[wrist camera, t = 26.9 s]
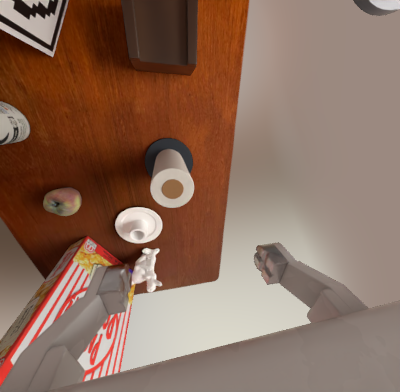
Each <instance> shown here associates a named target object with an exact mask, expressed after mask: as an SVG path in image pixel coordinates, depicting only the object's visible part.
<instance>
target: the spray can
mask: <svg viewBox="0 0 400 392" xmlns="http://www.w3.org/2000/svg"><path fill="white" fill-rule="evenodd" d="M29 134H30V125H29V122H28V120H27V119H26V117H25V116H24V115H23V114H22V113H21V112H20V111H19V110H18V109H16V108H15V107H13V106H11V105H9V104H7V103H3V102H0V145H3V144H9V143H15V142H20V141H22V140H24V139H26V138H27V137H28V136H29Z"/></svg>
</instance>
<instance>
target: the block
mask: <svg viewBox="0 0 400 392" xmlns="http://www.w3.org/2000/svg"><path fill="white" fill-rule="evenodd" d="M68 2H69V0H0V29H2V30H3V31H5V32H7V33H9V34H11V35H13V36H15V37H16V38H18V39H20V40H22V41H24V42H26V43H28V44H29V45H31V46H33V47H35V48H37V49H39V50H41V51H42V52H44V53H46V54H48V55H50V56H52V57H53V56H54V52H55V49H56V45H57V41H58V38H59V34H60V31H61V27H62V23H63V20H64V16H65V12H66V9H67V5H68Z"/></svg>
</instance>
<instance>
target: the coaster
mask: <svg viewBox="0 0 400 392" xmlns="http://www.w3.org/2000/svg"><path fill="white" fill-rule="evenodd" d="M165 149H173V150H175V151H177V152H178V153H179V154H180V155H181V156H182V158H183V160H184V163H185V165H186V167H187V169H188V171H189V174H190V172H191V170H192V166H193V159H192V155H191V153H190V151H189V149H188V148H187V147H186V145H184V144H183V143H182V142H180V141H178V140H176V139H172V138H164V139H160V140H158V141H156V142H154V143H153V144H152V145H151V146H150V147H149V149H148V150H147V153H146V156H145V166H146V169H147V172H148V173H149V175H150V176H151V177H152V175H153V170H154V165H155V160H156V157H157V155H158V154H159V153H160V152H161V151H163V150H165Z"/></svg>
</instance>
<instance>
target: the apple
mask: <svg viewBox="0 0 400 392" xmlns="http://www.w3.org/2000/svg"><path fill="white" fill-rule="evenodd" d="M81 201H82V198H81V196H80V193H79V192H78V191H77V190H75V189H73V188H71V187H67V188H61V189H56V190H53V191H50V192H48V193H47V194H46V195H45V197H44V201H43V206H44V208H45V210H46V211H48V212H52V213H55V214H58V215H62V216H68V215H72V214H74V213H75V212H77V210H78V209H79V208H80V206H81Z"/></svg>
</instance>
